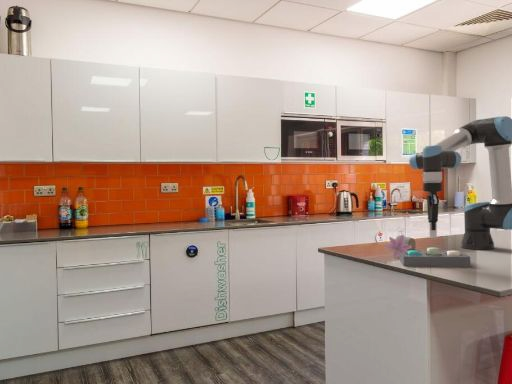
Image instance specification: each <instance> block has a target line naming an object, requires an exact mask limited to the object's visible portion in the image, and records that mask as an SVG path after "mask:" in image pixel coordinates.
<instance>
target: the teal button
mask: <svg viewBox="0 0 512 384" xmlns="http://www.w3.org/2000/svg"><path fill="white" fill-rule="evenodd" d="M420 252H421V251H420V250H416V249H415V250H410V251H408V255H420Z"/></svg>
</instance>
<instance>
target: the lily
mask: <svg viewBox="0 0 512 384" xmlns="http://www.w3.org/2000/svg"><path fill="white" fill-rule="evenodd" d="M399 236H400V237H399V238H398V239H397V240H395V239H396V238H393V237H391V236H389V238H388V239H389V242H390V243H389V244H386V245H385V246H384V249H386V250H388V251H392V252H393V258H394V259H396V258H398V257H400V252H408V251H407V249H409V248H411V247H412V246H410V245H407V244H405V237H406V236H405V235H404V234H401V235H399ZM404 236H405V237H404Z"/></svg>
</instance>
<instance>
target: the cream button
mask: <svg viewBox="0 0 512 384" xmlns="http://www.w3.org/2000/svg"><path fill="white" fill-rule="evenodd" d="M446 252H447V255H448V256H460V252H461V251H459V250H447V251H446Z"/></svg>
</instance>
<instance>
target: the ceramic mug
mask: <svg viewBox="0 0 512 384" xmlns="http://www.w3.org/2000/svg"><path fill="white" fill-rule="evenodd" d="M400 236H401V235H397V236H396V237H395V238H394V239H395V240H397V239H398V238H399V237H400ZM404 237H405V244H407V245H410V246H412V247H411V248H409V249H407V251H410V250H415V251H416V245H417V244H416V240H415V239H414V238H412V237H409V236H405V235H404Z"/></svg>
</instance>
